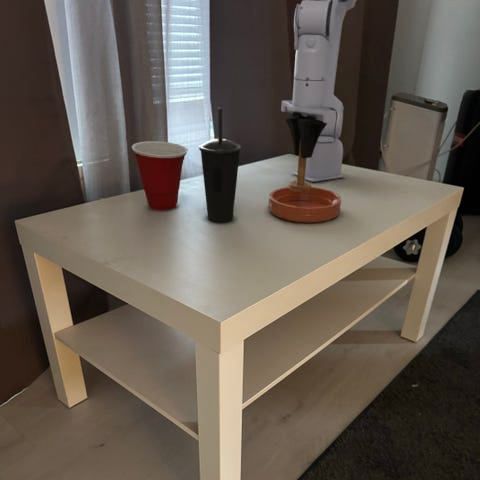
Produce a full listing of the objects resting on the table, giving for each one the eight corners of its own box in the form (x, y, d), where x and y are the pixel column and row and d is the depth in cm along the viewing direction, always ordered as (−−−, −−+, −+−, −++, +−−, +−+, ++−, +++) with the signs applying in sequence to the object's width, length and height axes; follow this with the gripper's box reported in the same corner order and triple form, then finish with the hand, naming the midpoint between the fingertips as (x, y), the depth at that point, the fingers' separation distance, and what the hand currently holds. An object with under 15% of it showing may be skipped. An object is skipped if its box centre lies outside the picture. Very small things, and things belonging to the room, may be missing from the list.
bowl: (311, 197, 107) (312, 183, 105) (353, 217, 96) (355, 201, 94) (255, 206, 100) (256, 191, 99) (294, 229, 90) (296, 212, 88)
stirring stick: (302, 184, 101) (306, 136, 96) (315, 190, 97) (320, 141, 92) (284, 187, 99) (288, 138, 94) (297, 193, 96) (301, 143, 91)
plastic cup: (181, 217, 94) (178, 154, 88) (129, 212, 96) (122, 150, 90) (196, 200, 104) (194, 141, 97) (148, 196, 105) (143, 138, 99)
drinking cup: (247, 221, 93) (251, 109, 83) (214, 228, 89) (213, 113, 79) (225, 209, 99) (226, 103, 88) (193, 216, 95) (189, 106, 84)
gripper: (269, 76, 91) (266, 150, 98) (315, 84, 81) (308, 166, 88) (300, 75, 94) (294, 147, 101) (348, 82, 84) (338, 162, 91)
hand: (303, 156), depth 95 cm, fingers closed on stirring stick
